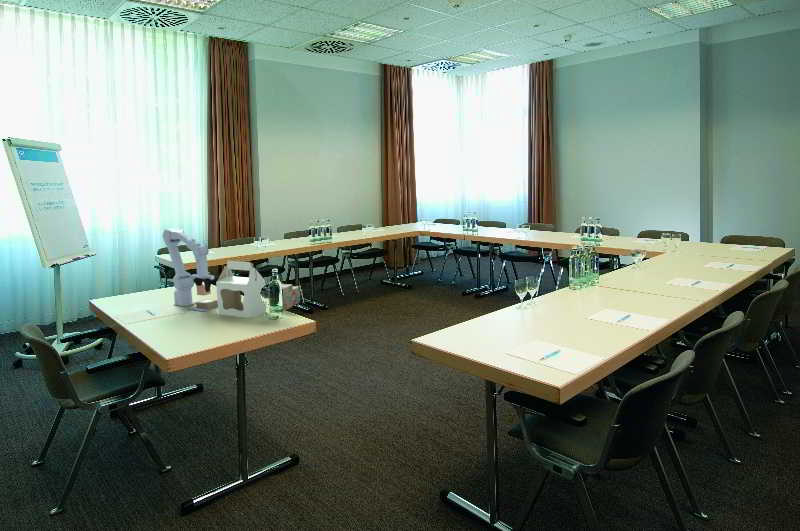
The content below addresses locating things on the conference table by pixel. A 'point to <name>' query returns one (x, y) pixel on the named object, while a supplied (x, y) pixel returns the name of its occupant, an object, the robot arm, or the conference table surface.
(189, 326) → the conference table surface
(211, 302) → the plate
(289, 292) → the white printed box
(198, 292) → the terracotta cube
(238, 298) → the gable box
